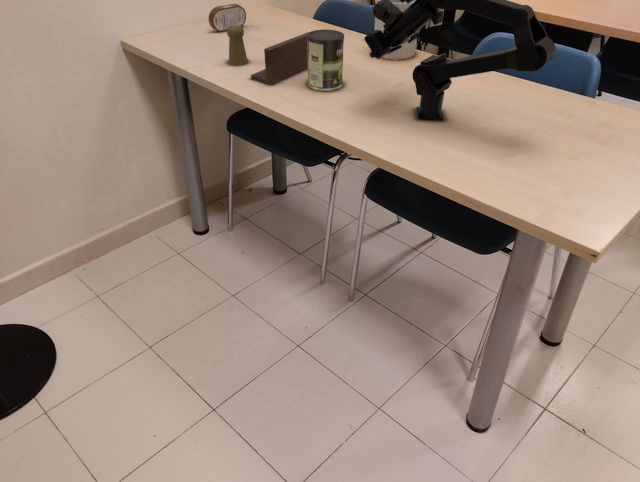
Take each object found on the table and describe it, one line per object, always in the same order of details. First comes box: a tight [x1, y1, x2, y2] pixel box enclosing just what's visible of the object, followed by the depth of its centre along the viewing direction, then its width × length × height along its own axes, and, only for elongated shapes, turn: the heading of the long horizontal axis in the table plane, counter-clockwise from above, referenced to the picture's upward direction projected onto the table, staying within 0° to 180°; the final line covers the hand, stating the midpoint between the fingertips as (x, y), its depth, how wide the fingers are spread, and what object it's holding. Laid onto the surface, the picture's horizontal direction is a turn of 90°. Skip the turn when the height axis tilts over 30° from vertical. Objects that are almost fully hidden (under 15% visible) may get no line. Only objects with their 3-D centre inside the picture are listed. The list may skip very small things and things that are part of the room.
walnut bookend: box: [250, 31, 310, 86], centre depth 151 cm, size 8×20×10 cm, turn 143°
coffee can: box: [307, 28, 345, 92], centre depth 142 cm, size 10×10×14 cm
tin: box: [208, 3, 247, 32], centre depth 186 cm, size 15×3×8 cm, turn 130°
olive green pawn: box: [226, 25, 249, 66], centre depth 158 cm, size 6×6×11 cm
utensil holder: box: [374, 0, 418, 61], centre depth 163 cm, size 15×15×18 cm
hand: (371, 56), depth 133 cm, fingers closed
